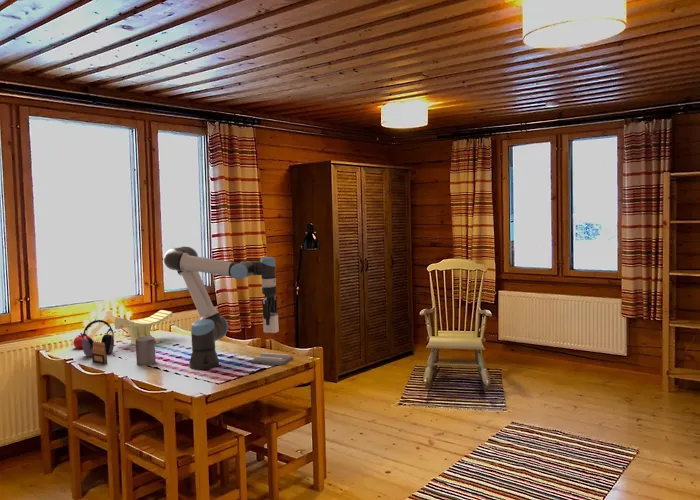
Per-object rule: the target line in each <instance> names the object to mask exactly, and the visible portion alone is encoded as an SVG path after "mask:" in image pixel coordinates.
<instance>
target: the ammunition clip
mask: <svg viewBox="0 0 700 500" xmlns="http://www.w3.org/2000/svg"><path fill="white" fill-rule="evenodd" d="M107 354H108V353H107V352H106V349H105V344H104V342H103V343H102V342H101V341H100V340H99V341H98V340H93V353H92V356H91V357H92V363H95V364H98V365H99V364H100V365H108V355H107Z"/></svg>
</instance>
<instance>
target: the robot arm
mask: <svg viewBox="0 0 700 500" xmlns="http://www.w3.org/2000/svg"><path fill="white" fill-rule="evenodd" d="M163 262H164V264H165V266H166V268H168V269H169V270H171V271H176V272H177V275H178V276H180V277H182V278H183V281H184V283H185V285H186V287H187V290H188V292H189V295H190V296H191V300H192V301H193V303H194V306H195V308H196V310H197V313H198V315H199V319H197V320H195V321H194V322H193V323H191V325H190V327H191V328H190V336H191V356H190V359H189V362H188V363H189V364H188V365H189V368H190V369H193V370H208V369H213V368H216V367H218V366H220V359H219V357H218V354H217V353H218V352H216V341H217V340H220V339H222V338H223V337H224V336H225V335H226V334H227V333H228V330H229V324H228V321H227V320H226V318H225V317H223V316H221V313H220V312H219V311H217V310H216V309H215V307H214V304H213V302H212V300H211V297H210V295H209V293H208V291H207V289H206V286H205V284H204V282H203V280H202V277H201V275H200V273H205V274H206V273H207V274H211V275H217V276H224V277H230V278H233V279H235V280H242V279H244V278H249V277H250V276H261V278H260V279H261V286H262V287H261V293H262V294H263V295H264V298H263V299H262V300H261V304H262V319H263V318H264V319H266V331H272V330H271V319H270V313H278V296H276V295H275V294H277V278H276V277H277V275H276V273H277V272H276V271H277V270H276V259H275V257H274V256H267V257H266V256H264V257H262V256H261V258H260V260H259V261H258V260H257V261H256V260H254V261H251V260H249V261H248V260H245V261H244V260H243V261H240V262H232V261H227V260H220V259H215V258H208V257H207V258H206V257H201V256H199V255H198V252H197V251H196V250H195V249H194V248H193V247H190V246H179V247H173V248H170V249H168V250H167V251H166V252H165V254H164V256H163Z"/></svg>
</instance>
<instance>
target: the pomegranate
mask: <svg viewBox="0 0 700 500" xmlns="http://www.w3.org/2000/svg"><path fill="white" fill-rule="evenodd" d="M79 334H80V335H76V336H75V338H74V340H73V342H72V343H73V346H74V348H75V349H78V350H83V347H82V340H83V339H85V338H86V339H87V337H86V336H85V335H84V336H83V339H82V334H83V332H80V333H79ZM87 336H88V338H91V336H89V335H87ZM91 339H92V338H91Z"/></svg>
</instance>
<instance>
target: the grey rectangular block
mask: <svg viewBox="0 0 700 500" xmlns="http://www.w3.org/2000/svg"><path fill="white" fill-rule="evenodd" d="M270 319H271V330H272V331H266V319H264V318H263V317H262V327H263V333H265V334H266V333H267V334H268V333H269V334H276V333H278V332H280V329H279V327H280V326H279V312H277V313H276V312H275V313H270Z"/></svg>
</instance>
